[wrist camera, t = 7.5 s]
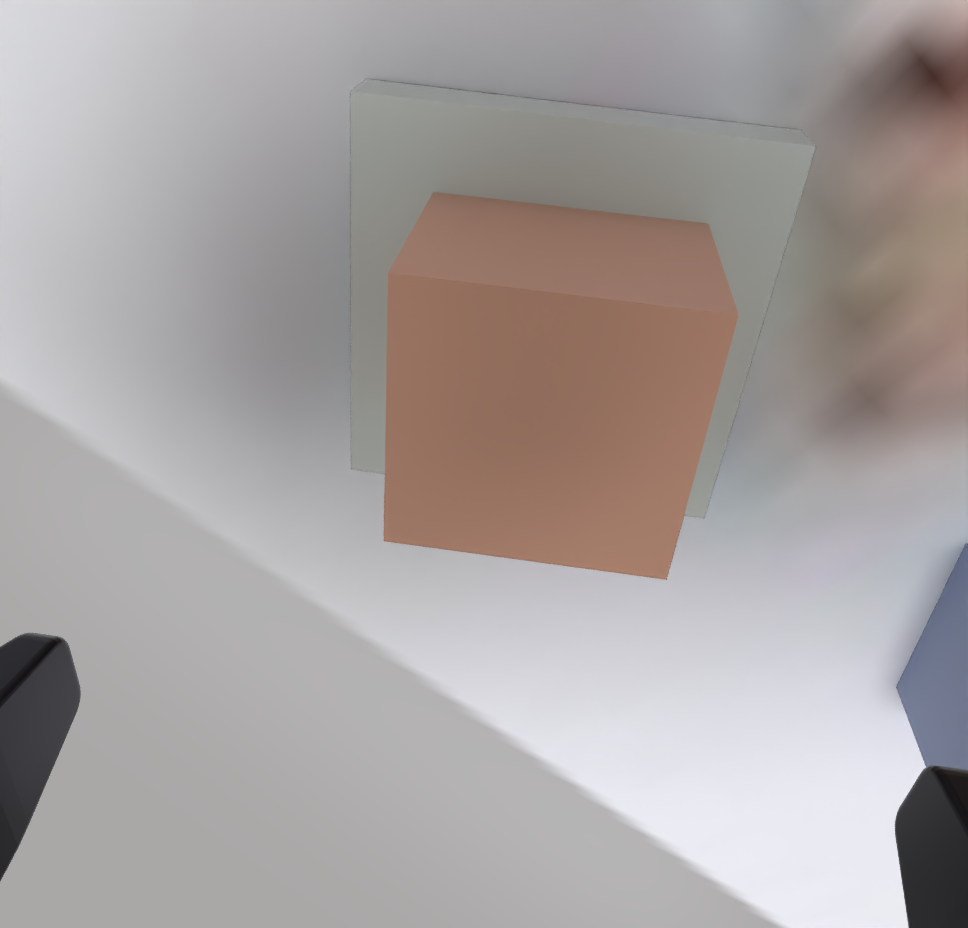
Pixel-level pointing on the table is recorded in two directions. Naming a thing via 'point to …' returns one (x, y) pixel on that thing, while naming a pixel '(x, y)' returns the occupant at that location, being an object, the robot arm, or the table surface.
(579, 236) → the terracotta brick
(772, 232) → the grey baseplate
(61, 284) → the table surface
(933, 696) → the navy brick
